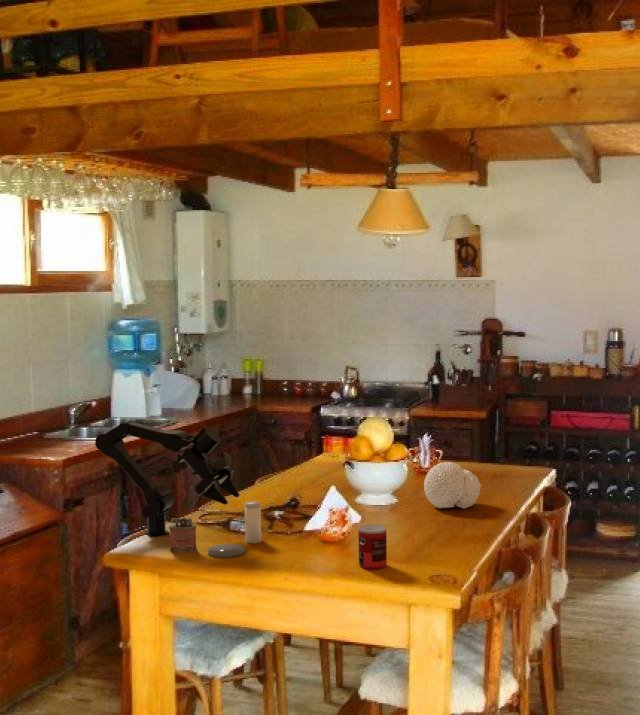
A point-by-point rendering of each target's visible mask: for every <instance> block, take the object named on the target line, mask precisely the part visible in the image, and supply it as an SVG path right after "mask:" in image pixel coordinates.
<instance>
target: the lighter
mask: <svg viewBox="0 0 640 715" xmlns="http://www.w3.org/2000/svg"><path fill="white" fill-rule="evenodd" d="M170 521H171V525H169V528H168V529H169V532H170V534H169V539H170V542H169V543H170V544H169V545H170V546H169V551H170V552H171V551H172V552H173V553H188V552H187V551H190V552H196V551H198V549H197V547H198V546H197V533H196V531H197V530H196V529H197V525H196V524H192V523H193V519H192V518H187V517H185V516H184V517H181V518H180V517H178V518H177V517H174V518H171V520H170ZM172 524H173V525H172ZM195 550H196V551H195Z"/></svg>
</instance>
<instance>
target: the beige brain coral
mask: <svg viewBox="0 0 640 715" xmlns="http://www.w3.org/2000/svg"><path fill="white" fill-rule="evenodd" d="M472 472H473V471H471V470H470V471H469V470H468V469H465V468H463V467H461V465H459V464H457V463H454V462H450V461H448V462H447V461H444V462H440V463H437V464H436V465H434V466H432V467H431V468H430V470H428V471H427V474H426V476H425V477H424V481H423V482H424V483H423V486H424V487H423V489H424V490H423V491H424V494H425V496H426V500H427V499H428V502H430V503H431V504H432V505H433V506H435V508H438V509H447V508H454V507H457V508H461V509H467V508H470V507H472V506H474V504H476V501H477V500H478V498H479V497H480V493H481V487H482V484H481V482H480V481H479V479H478V477H477V476H476V475H475V474H473V473H472Z"/></svg>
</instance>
